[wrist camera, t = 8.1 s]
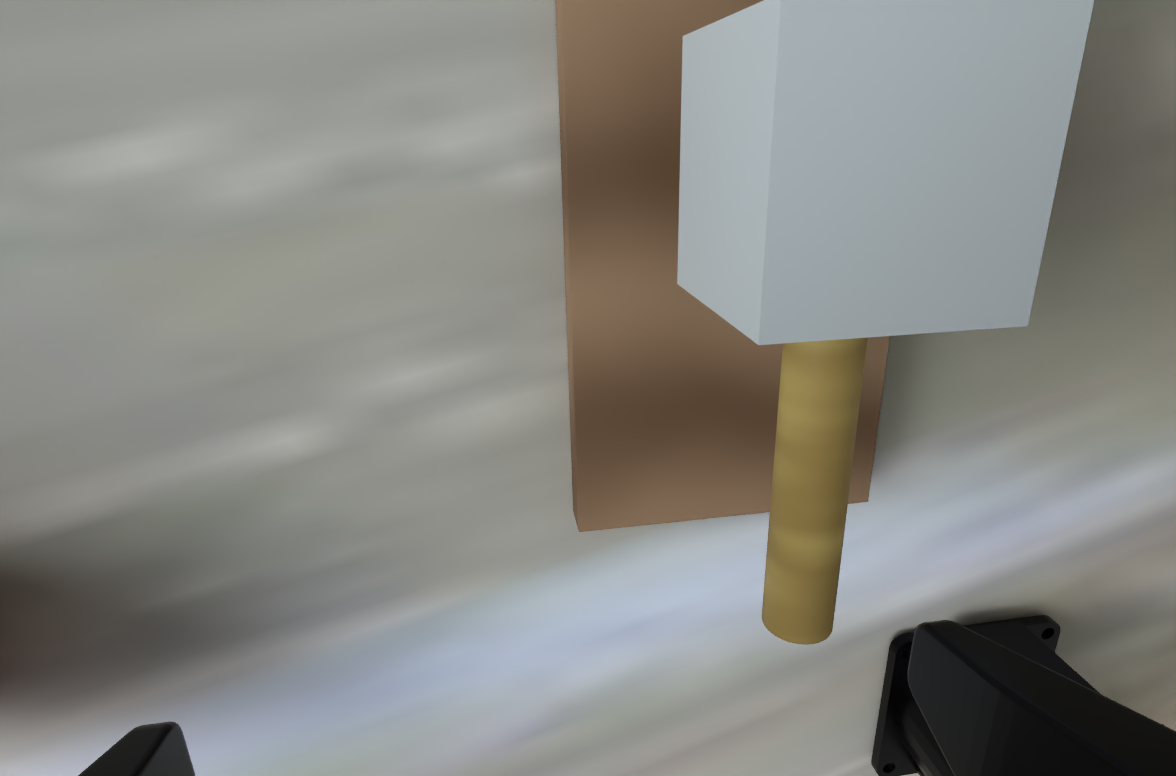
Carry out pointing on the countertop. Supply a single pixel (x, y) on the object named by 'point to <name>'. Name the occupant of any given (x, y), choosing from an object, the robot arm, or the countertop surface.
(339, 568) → the countertop surface
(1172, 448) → the countertop surface
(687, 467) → the cord clamp board
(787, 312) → the white cube with hole
